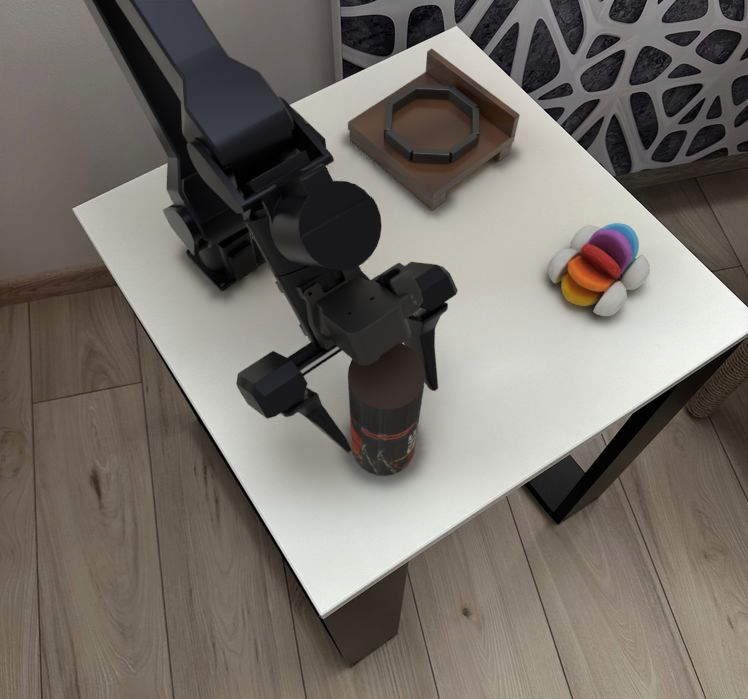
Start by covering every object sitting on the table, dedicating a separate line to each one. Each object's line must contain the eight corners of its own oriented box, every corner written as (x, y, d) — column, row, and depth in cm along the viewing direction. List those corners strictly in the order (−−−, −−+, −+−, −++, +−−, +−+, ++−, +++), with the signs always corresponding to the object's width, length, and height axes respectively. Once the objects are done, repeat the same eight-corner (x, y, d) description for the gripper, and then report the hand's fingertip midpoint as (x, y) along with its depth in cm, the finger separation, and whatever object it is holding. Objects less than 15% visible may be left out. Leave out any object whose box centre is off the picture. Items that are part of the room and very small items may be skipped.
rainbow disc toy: (533, 285, 81) (547, 244, 74) (587, 231, 84) (605, 187, 78) (600, 333, 78) (620, 295, 72) (652, 275, 81) (676, 233, 75)
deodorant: (408, 481, 71) (417, 416, 57) (345, 468, 71) (340, 401, 58) (419, 422, 73) (431, 347, 60) (358, 411, 74) (356, 334, 61)
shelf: (348, 140, 90) (347, 101, 85) (428, 88, 94) (431, 48, 89) (430, 211, 85) (434, 175, 80) (511, 152, 90) (520, 114, 84)
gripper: (232, 336, 49) (340, 519, 55) (453, 197, 55) (531, 376, 60) (193, 316, 59) (288, 473, 65) (384, 200, 65) (456, 354, 70)
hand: (391, 419), depth 65 cm, fingers open, 9 cm apart
